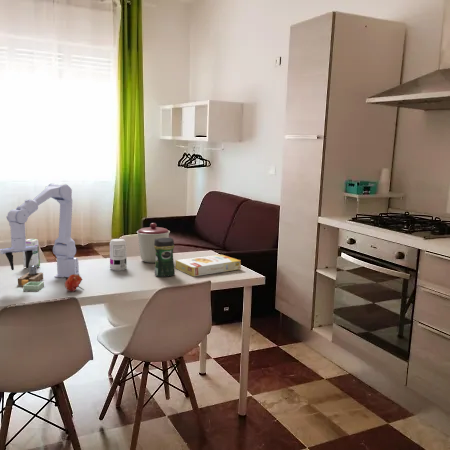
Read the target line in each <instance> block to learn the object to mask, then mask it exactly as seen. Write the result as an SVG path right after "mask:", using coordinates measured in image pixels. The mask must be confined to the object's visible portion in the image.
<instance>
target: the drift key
mask: <svg viewBox="0 0 450 450" xmlns="http://www.w3.org/2000/svg"><path fill="white" fill-rule="evenodd" d="M28 282H29V279H28V280H22V285H21V286H22V287H23V286H24V285H25V284H27V283H28Z"/></svg>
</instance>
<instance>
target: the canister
mask: <svg viewBox="0 0 450 450" xmlns="http://www.w3.org/2000/svg"><path fill="white" fill-rule="evenodd" d="M170 232H171V231H170V230H168V229H167V228H166V227H165V228H164V227H159V226H157V223H156V222H151V223H150V224H149V227H142V228H140V229H138V230H137V231H136V233H137V238H138V247H139V253H140V255H139V256H140V259H141V260H142V261H143V262H145V263H149V264H151V263H153V264H155V259H156V251H155V248H154V243H155V239H156V238H170V237H169V236H170V235H169V234H171V233H170Z"/></svg>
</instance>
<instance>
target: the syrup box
mask: <svg viewBox="0 0 450 450" xmlns="http://www.w3.org/2000/svg"><path fill="white" fill-rule="evenodd" d="M39 243H40V242H39V239H37V238H28V239H26V246H37V251H32V252H33V255H32V257H31V259H30V262H29V266H30V265H36V267H38V266H40V267H41V264H40V263H41V262H40V261H41V259H40V245H39ZM22 260H23V262H22V263H23V268H24V267H26V257H25V252H22ZM38 268H39V267H38Z"/></svg>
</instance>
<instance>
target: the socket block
mask: <svg viewBox="0 0 450 450" xmlns="http://www.w3.org/2000/svg"><path fill="white" fill-rule="evenodd" d="M28 279H29V282H42V281H43V280H44V272H37V275H36V276H29V272H26V273H25V274H24V275H22V276H20V277H18V278H17V286H22V280H28Z"/></svg>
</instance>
